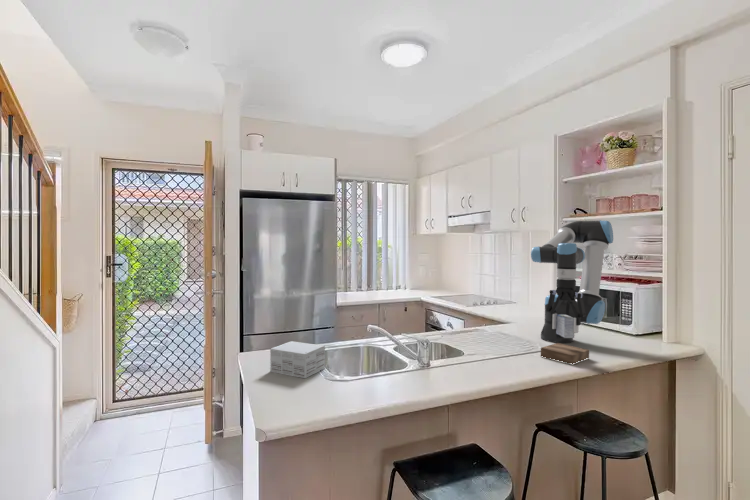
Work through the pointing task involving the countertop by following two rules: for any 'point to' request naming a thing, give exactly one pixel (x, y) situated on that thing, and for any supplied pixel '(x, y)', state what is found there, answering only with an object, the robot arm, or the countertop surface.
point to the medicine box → (565, 326)
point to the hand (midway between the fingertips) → (565, 330)
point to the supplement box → (297, 359)
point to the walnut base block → (564, 353)
